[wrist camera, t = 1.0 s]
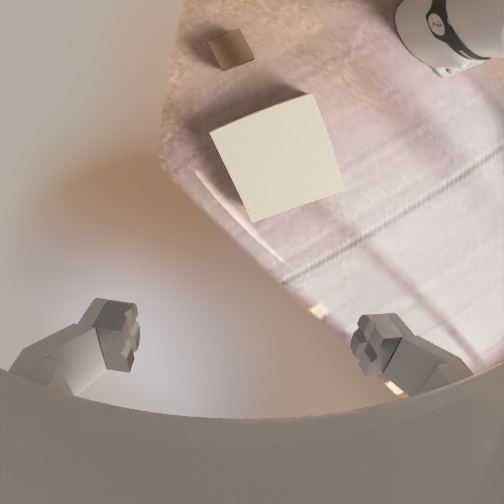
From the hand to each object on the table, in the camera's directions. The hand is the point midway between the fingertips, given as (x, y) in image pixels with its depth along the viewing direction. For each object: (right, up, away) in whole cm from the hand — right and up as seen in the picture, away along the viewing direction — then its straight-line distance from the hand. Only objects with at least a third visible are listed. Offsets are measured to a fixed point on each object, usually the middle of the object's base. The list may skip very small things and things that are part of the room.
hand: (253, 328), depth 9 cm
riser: (+4, +19, +35) cm, 40 cm away
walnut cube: (-3, +34, +26) cm, 43 cm away
